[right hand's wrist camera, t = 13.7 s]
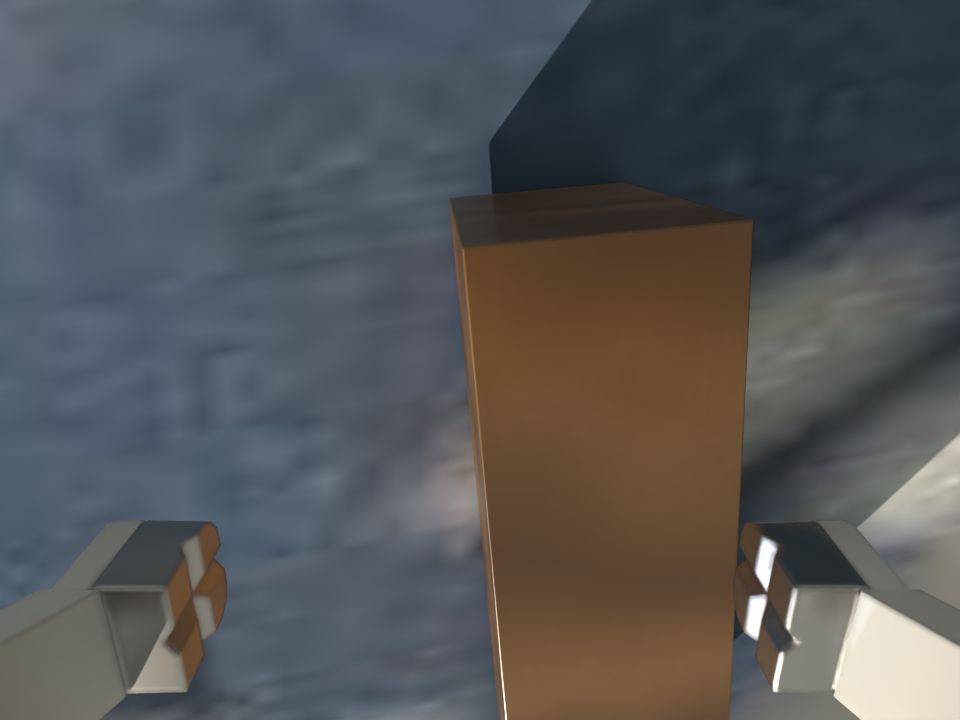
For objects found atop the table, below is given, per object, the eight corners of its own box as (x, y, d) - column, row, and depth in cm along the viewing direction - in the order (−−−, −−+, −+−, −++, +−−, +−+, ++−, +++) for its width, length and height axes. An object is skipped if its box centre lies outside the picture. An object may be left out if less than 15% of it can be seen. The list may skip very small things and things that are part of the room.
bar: (449, 198, 21) (462, 246, 12) (624, 182, 21) (755, 218, 12) (502, 751, 28) (532, 1019, 19) (631, 735, 28) (716, 994, 20)
